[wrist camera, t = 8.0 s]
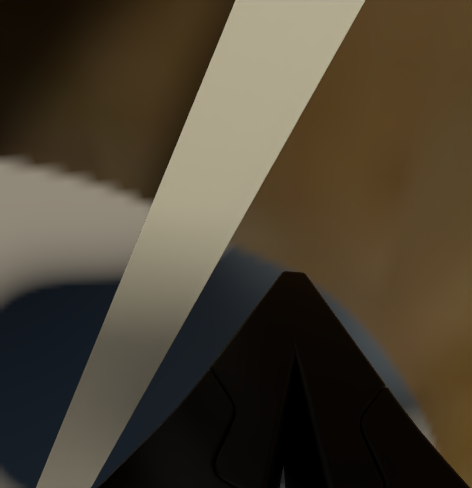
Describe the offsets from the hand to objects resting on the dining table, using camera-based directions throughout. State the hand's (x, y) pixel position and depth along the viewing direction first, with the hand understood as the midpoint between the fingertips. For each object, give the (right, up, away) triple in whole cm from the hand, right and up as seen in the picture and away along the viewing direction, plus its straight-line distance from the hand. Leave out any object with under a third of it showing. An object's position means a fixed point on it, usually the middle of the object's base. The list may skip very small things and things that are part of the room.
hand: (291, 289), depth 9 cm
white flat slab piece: (-1, +4, -1) cm, 5 cm away
